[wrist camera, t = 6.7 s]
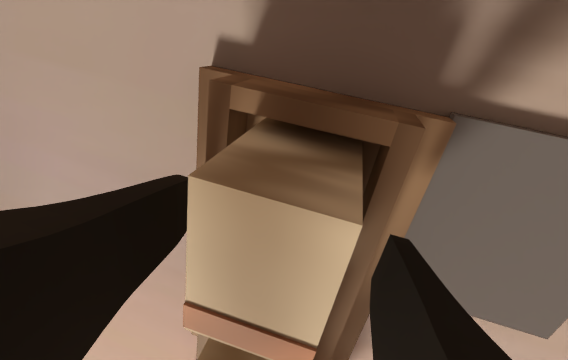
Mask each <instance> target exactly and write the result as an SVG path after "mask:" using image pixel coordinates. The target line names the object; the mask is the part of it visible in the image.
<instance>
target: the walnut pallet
mask: <svg viewBox="0 0 568 360" xmlns="http://www.w3.org/2000/svg"><path fill="white" fill-rule="evenodd" d="M265 118H270V119H274V120H278V121H282V122H286V123H290V124H294V125H299V126H303V127H307V128H311V129H315V130H319V131H323V132H327V133H331V134H335V135H339V136H343V137H347V138H352V139H356V140H360V141H362V169H363V226H362V229H361V232H360V234H359V237H358V240H357V242H356V245H355V248H354V250H353V253H352V256H351V258H350V261H349V264H348V266H347V269H346V272H345V274H344V277H343V280H342V282H341V285H340V288H339V290H338V293H337V296H336V298H335V301H334V304H333V306H332V309H331V312H330V314H329V317H328V320H327V322H326V325H325V328H324V330H323V333H322V336H321V338H320V341H319V344H318V346H317V349H316V354H315V356H314V359H313V360H348V359H349V357H350V355H351V353H352V350H353V348H354V346H355V344H356V342H357V340H358V337H359V335H360V333H361V331H362V329H363V326H364V324H365V322H366V320H367V318H368V316H369V313H370V290H371V278H372V276H373V273H374V271H375V269H376V266H377V264H378V262H379V259H380V257H381V255H382V252H383V250H384V248H385V245H386V243H387V241H388V238H389V236H390V234H392V235H395V236H399V237H402V238H404V237H405V235H406V233H407V231H408V228H409V226H410V224H411V222H412V220H413V218H414V215H415V213H416V211H417V209H418V207H419V204H420V202H421V200H422V198H423V196H424V194H425V191H426V189H427V187H428V185H429V183H430V181H431V178H432V176H433V174H434V172H435V170H436V167H437V165H438V163H439V161H440V159H441V157H442V154H443V152H444V150H445V148H446V146H447V143H448V141H449V139H450V137H451V135H452V133H453V130H454V128H455V126H456V123H455V122H454V121H453V120H452V119H450V118H449V117H445V116H440V115H435V114H431V113H426V112H422V111H417V110H412V109H408V108H403V107H399V106H394V105H389V104H385V103H380V102H375V101H371V100H366V99H362V98H357V97H352V96H348V95H343V94H339V93H334V92H329V91H325V90H320V89H316V88H311V87H306V86H302V85H297V84H293V83H288V82H283V81H279V80H274V79H269V78H265V77H260V76H256V75H251V74H246V73H242V72H237V71H233V70H228V69H223V68H219V67H214V66H206V67H199V101H198V134H197V167H196V170H197V169H198V168H199V167H201V166H202V165H203V164H205V163H206V162H207V161H209V160H210V159H211V158H213V157H214V156H215V155H217V154H218V153H219V152H221V151H222V150H223V149H225V148H226V147H227V146H229V145H230V144H231V143H233V142H234V141H235V140H237V139H238V138H239V137H241V136H242V135H243V134H245V133H246V132H247V131H249V130H250V129H251V128H253V127H254V126H255V125H257V124H258V123H259V122H261V121H262V120H263V119H265ZM192 334H193V335H196V336H197V358H196V360H197V359H198V357H199V355H200V354H201V352H202V350H203V348H204V346H205V344H206V342H207V340H208V337H205V336H203V335H200V334H197V333H195V332H192Z"/></svg>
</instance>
